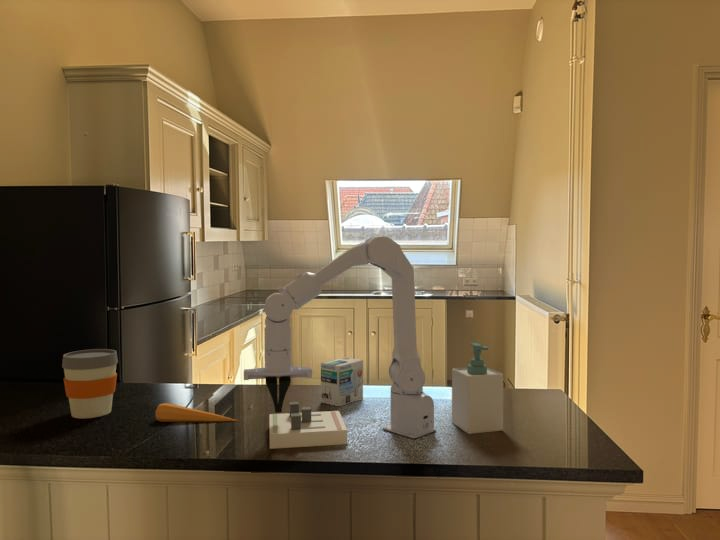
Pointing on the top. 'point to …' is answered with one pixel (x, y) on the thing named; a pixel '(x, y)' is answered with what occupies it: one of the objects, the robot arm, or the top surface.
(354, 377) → the light bulb box
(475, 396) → the soap bottle
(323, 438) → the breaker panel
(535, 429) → the top surface
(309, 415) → the block
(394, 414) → the robot arm
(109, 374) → the reusable coffee cup
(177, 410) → the carrot
